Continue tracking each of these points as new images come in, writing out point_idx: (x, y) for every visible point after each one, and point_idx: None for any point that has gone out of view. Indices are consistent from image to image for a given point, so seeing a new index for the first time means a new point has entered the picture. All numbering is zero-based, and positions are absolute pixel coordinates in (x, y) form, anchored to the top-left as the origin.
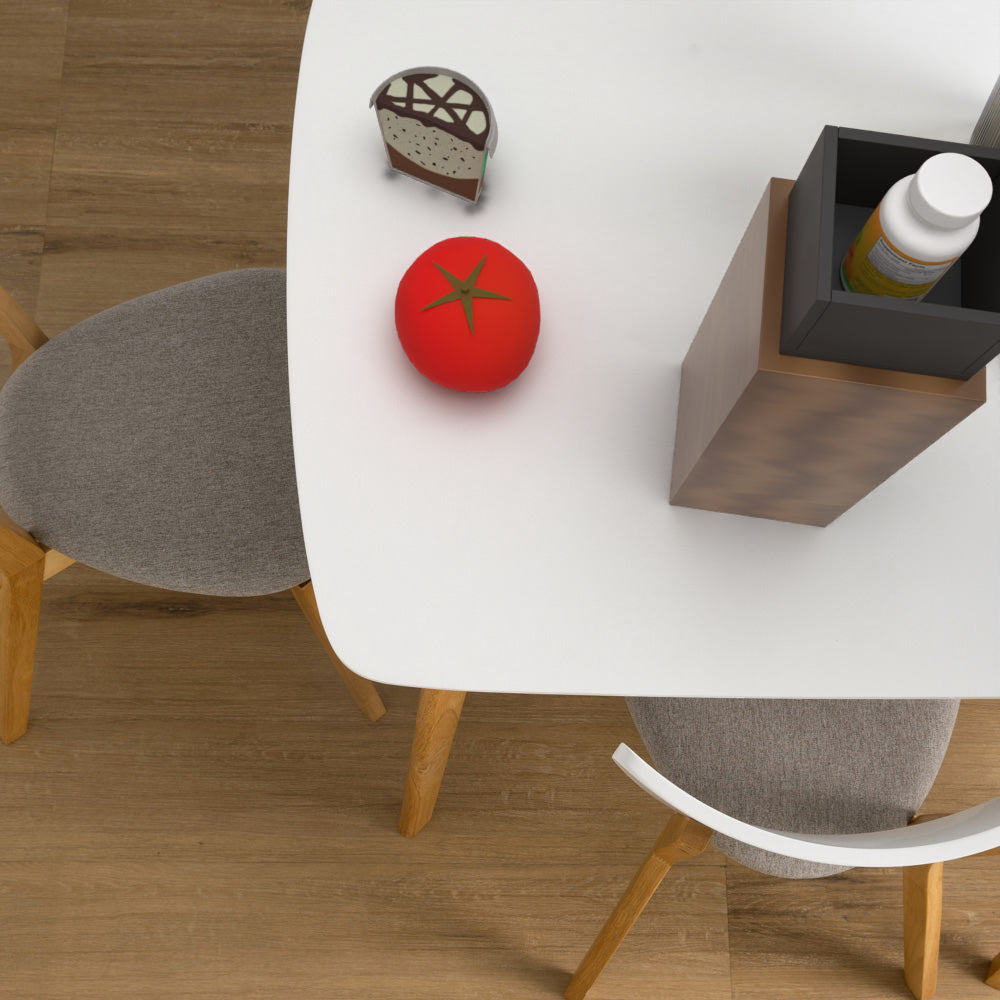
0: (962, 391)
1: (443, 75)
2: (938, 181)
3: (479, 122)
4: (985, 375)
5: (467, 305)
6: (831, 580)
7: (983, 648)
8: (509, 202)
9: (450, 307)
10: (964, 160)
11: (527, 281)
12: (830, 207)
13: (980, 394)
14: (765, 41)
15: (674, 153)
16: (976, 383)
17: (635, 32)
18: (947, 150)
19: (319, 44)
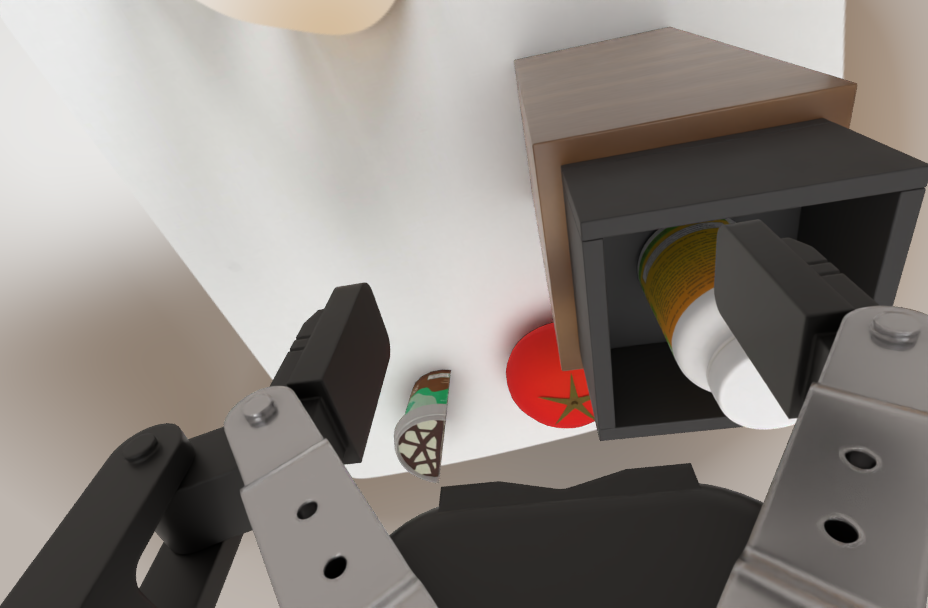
0: (839, 120)
1: (399, 450)
2: (776, 409)
3: (426, 423)
4: (812, 92)
5: (586, 399)
6: (727, 5)
7: None
8: (439, 351)
9: (590, 406)
10: (734, 386)
11: (546, 363)
12: (722, 421)
13: (844, 94)
14: (186, 213)
15: (339, 256)
16: (826, 103)
17: (246, 311)
18: (604, 318)
19: (374, 474)
